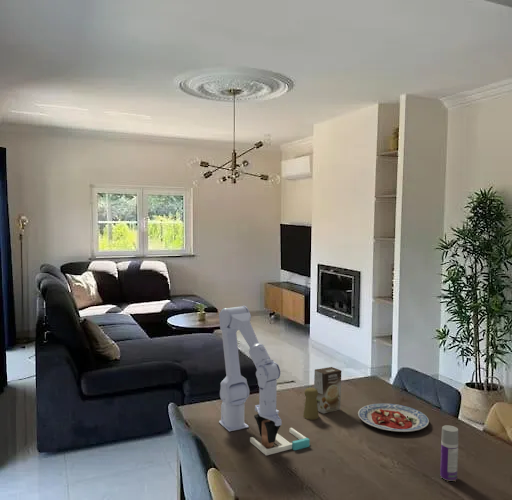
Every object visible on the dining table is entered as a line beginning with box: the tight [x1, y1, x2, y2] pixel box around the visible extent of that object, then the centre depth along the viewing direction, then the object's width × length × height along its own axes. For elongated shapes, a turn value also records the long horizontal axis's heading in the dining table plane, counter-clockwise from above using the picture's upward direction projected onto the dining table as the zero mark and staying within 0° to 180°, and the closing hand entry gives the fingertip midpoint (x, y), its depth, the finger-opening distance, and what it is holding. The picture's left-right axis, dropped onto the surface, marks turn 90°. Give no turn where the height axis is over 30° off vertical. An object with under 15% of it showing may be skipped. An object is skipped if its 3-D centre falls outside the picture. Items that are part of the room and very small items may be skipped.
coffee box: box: [313, 366, 342, 414], centre depth 195 cm, size 9×6×16 cm
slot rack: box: [249, 427, 311, 456], centre depth 164 cm, size 12×17×2 cm
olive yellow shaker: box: [302, 387, 320, 421], centre depth 187 cm, size 6×6×11 cm
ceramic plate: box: [357, 403, 430, 433], centre depth 184 cm, size 26×26×3 cm
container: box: [439, 424, 459, 481], centre depth 143 cm, size 5×5×15 cm
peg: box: [261, 420, 274, 449], centre depth 163 cm, size 4×4×8 cm
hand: (267, 438), depth 163 cm, fingers open, 5 cm apart
